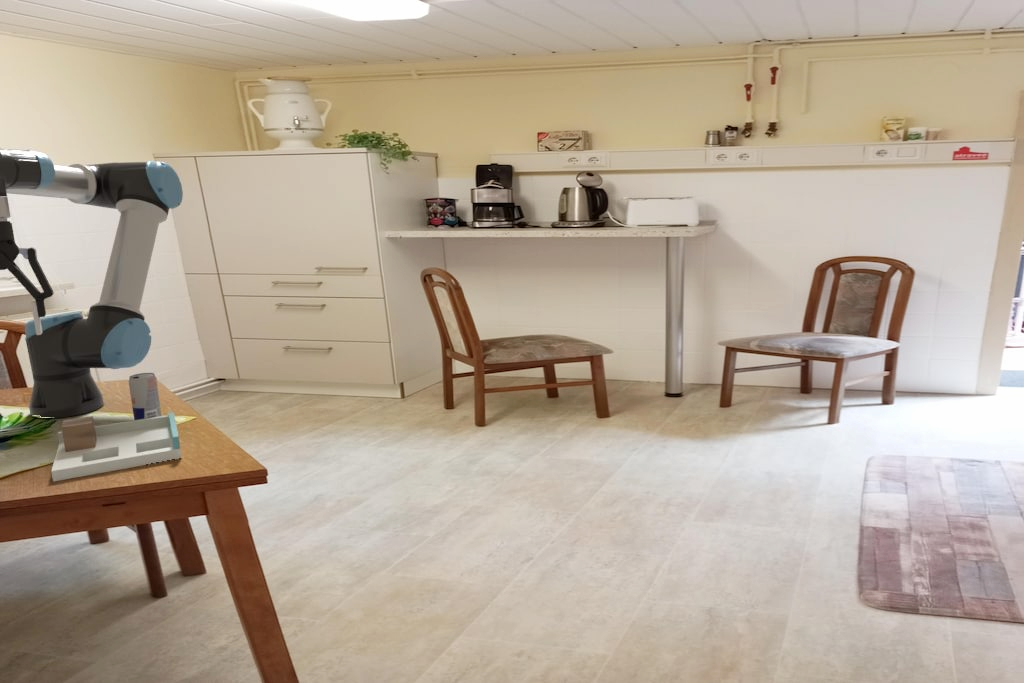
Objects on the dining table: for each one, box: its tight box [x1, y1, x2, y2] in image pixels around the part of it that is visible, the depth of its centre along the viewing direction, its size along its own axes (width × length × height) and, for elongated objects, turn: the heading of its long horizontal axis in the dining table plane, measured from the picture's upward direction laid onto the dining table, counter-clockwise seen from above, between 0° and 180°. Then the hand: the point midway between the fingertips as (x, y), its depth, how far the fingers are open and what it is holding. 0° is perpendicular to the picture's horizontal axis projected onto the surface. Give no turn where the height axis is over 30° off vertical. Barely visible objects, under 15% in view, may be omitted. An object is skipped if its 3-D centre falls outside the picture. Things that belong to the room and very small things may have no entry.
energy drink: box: [128, 372, 163, 420], centre depth 151 cm, size 5×5×12 cm
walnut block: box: [61, 415, 97, 452], centre depth 136 cm, size 5×5×5 cm
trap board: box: [51, 411, 182, 483], centre depth 137 cm, size 18×21×4 cm
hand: (7, 336), depth 135 cm, fingers open, 10 cm apart
